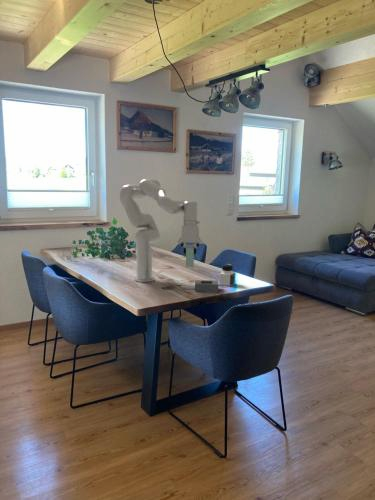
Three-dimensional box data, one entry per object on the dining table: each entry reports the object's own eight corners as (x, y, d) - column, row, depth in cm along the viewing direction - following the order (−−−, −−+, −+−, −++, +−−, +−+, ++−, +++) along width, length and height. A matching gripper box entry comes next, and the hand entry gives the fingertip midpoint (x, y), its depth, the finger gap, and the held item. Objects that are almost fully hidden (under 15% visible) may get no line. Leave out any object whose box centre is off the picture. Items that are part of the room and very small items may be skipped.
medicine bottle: (230, 286, 235) (230, 266, 233) (219, 284, 238) (219, 265, 236) (234, 283, 241) (235, 264, 239) (223, 282, 244) (224, 263, 242)
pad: (183, 285, 234) (183, 285, 234) (195, 286, 234) (195, 285, 234) (182, 289, 227) (182, 288, 227) (195, 289, 227) (195, 288, 227)
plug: (185, 265, 230) (185, 244, 228) (194, 265, 230) (194, 245, 228) (185, 267, 226) (185, 246, 224) (193, 267, 226) (194, 246, 224)
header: (195, 287, 231) (195, 280, 230) (217, 288, 230) (217, 280, 229) (194, 291, 222) (195, 284, 221) (218, 292, 221) (218, 284, 221)
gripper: (205, 222, 227) (204, 253, 230) (175, 222, 228) (175, 253, 231) (205, 223, 220) (204, 256, 223) (174, 223, 220) (174, 255, 224)
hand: (189, 254), depth 227 cm, fingers closed on plug, 4 cm apart
